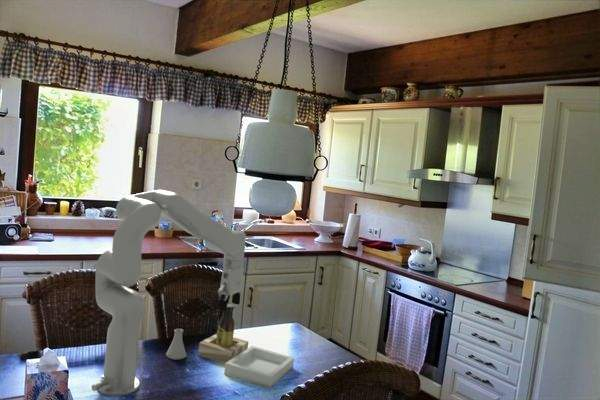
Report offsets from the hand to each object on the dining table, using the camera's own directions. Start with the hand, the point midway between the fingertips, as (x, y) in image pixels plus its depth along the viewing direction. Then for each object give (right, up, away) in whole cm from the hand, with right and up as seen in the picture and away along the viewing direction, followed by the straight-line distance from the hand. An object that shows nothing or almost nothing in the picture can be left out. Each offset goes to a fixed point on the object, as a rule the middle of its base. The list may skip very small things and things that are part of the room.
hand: (229, 306), depth 191 cm
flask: (-19, -18, -5) cm, 26 cm away
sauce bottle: (-3, -19, +1) cm, 19 cm away
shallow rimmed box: (-3, -19, +1) cm, 19 cm away
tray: (+12, -21, -9) cm, 26 cm away
